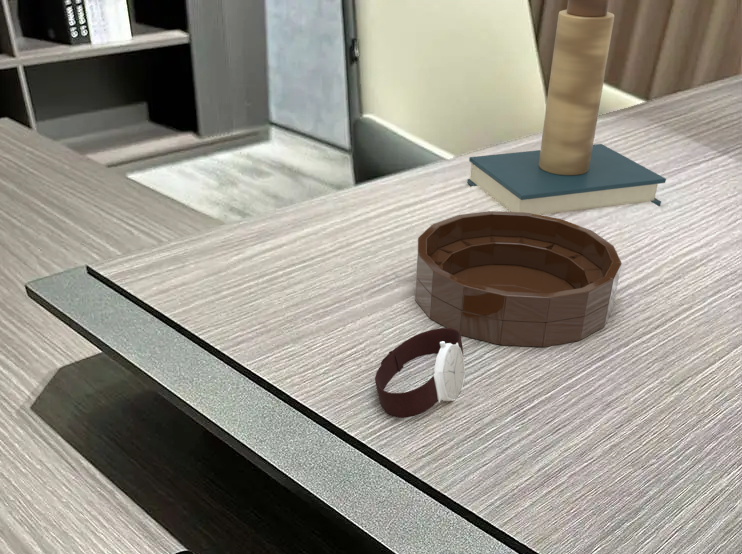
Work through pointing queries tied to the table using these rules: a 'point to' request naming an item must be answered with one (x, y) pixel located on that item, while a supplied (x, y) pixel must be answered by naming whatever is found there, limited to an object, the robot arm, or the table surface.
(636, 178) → the book
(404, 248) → the table surface
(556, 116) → the pepper mill
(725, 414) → the table surface
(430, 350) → the watch
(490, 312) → the bowl
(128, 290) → the table surface
